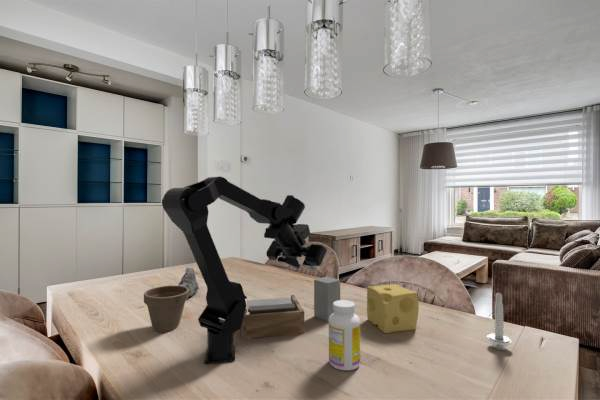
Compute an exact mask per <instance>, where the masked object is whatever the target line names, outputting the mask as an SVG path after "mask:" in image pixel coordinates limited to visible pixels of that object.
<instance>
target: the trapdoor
mask: <svg viewBox="0 0 600 400" xmlns="http://www.w3.org/2000/svg"><path fill="white" fill-rule="evenodd" d="M246 308H247V313H249V314H261V313H274V312H287V311H295V306H294V304H293V303H292V302H291V297H275V298H264V299H263V298H262V299H260V298H259V299H249V300H246Z"/></svg>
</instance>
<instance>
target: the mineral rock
mask: <svg viewBox="0 0 600 400" xmlns="http://www.w3.org/2000/svg"><path fill="white" fill-rule="evenodd" d="M177 286H184V287H187V288H188V289H189V297H192V296H194V295H196V293H198V291H200V287H199V284H198V282H197V277H196V272H195V269H194V267H186V268H185V272H184V274H183V275H182V277H181V279H180V282H178V285H177Z"/></svg>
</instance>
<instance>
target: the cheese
mask: <svg viewBox="0 0 600 400" xmlns="http://www.w3.org/2000/svg"><path fill="white" fill-rule="evenodd" d="M366 288H367V289H366V314H367V315H366V316H367V317H366V318H367V320H368V321H369V322H370V323H371V324H372V325H374V326H377V327H378V329H379V330H380V331H381V332H383V333H384V334H390V333H396V332H397V333H398V332H402V331H404V332H405V331H414V330H417V324H418V317H419V307H420V306H419V295H418V292H417V291H414V290H410V289H407V288H405V287H403V286H401V285H398V284H396V283H393V284H391V283H390V284H384V285H372V286H371V285H368V286H367V287H366Z"/></svg>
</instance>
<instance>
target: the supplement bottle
mask: <svg viewBox="0 0 600 400" xmlns="http://www.w3.org/2000/svg"><path fill="white" fill-rule="evenodd" d="M333 310H334V313H332V314H331V315H330V317H329V321H328V361H329V363H330V365H331V366H332V367H333V368H334V369H336V370H339V371H347V372H348V371H353V370H356V369H357V368H359V367H360V365H361V319H360V317H359V316H358V315H357V314H356V313H355V311H356V303H355V302H353V301H352V300H348V299H340V300H338V301H335V302H333Z"/></svg>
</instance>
